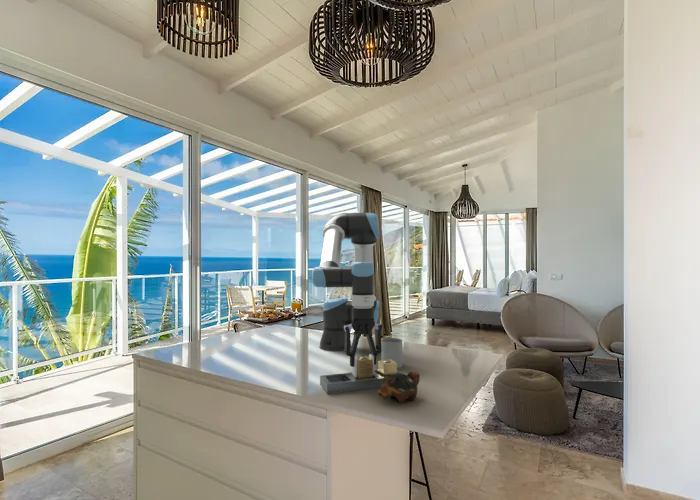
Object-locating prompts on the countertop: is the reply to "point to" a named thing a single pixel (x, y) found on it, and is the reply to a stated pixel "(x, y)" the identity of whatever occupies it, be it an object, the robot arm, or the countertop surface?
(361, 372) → the cube with silver knob
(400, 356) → the cup
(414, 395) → the decorative turtle
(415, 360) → the countertop surface
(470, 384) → the countertop surface
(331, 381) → the rack
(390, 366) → the beige framed knobbed block
